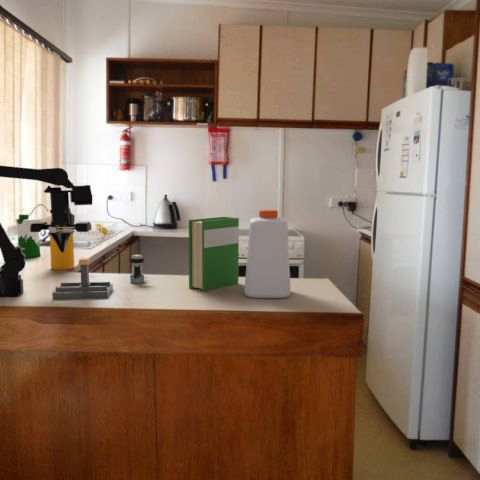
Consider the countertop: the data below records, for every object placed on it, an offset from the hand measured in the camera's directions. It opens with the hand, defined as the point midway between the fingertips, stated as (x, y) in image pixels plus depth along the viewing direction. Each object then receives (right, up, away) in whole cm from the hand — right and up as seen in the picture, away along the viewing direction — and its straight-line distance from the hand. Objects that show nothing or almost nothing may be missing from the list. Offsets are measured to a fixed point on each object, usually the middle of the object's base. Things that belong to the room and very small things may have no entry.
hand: (62, 252), depth 170 cm
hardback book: (+51, -13, +10) cm, 53 cm away
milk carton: (-39, -4, +68) cm, 78 cm away
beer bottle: (-14, -8, +40) cm, 44 cm away
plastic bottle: (+69, -14, -1) cm, 70 cm away
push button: (+23, -12, +15) cm, 30 cm away
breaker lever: (+9, -11, -4) cm, 15 cm away
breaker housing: (+8, -14, -4) cm, 17 cm away
